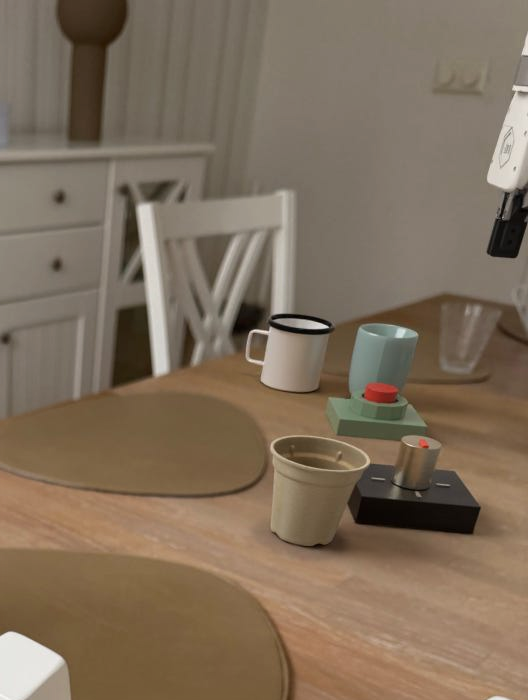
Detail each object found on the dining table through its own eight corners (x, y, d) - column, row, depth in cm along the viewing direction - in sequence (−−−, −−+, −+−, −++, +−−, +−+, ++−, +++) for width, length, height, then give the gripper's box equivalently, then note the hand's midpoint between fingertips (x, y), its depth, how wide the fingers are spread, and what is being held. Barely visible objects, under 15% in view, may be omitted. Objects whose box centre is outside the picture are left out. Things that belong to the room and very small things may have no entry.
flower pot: (338, 517, 102) (357, 438, 97) (360, 558, 94) (382, 474, 89) (248, 511, 102) (263, 431, 97) (262, 551, 94) (279, 466, 89)
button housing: (407, 420, 132) (414, 391, 129) (423, 443, 124) (431, 412, 122) (324, 412, 132) (331, 383, 130) (335, 435, 124) (342, 404, 122)
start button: (391, 397, 128) (394, 384, 127) (398, 407, 124) (401, 393, 123) (360, 394, 128) (363, 381, 127) (366, 404, 124) (369, 390, 124)
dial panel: (447, 496, 109) (455, 469, 107) (472, 534, 100) (481, 505, 99) (339, 486, 110) (345, 459, 108) (355, 523, 101) (362, 494, 99)
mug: (330, 384, 144) (344, 321, 139) (309, 399, 137) (323, 333, 132) (254, 367, 149) (264, 306, 144) (230, 381, 142) (240, 317, 137)
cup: (367, 413, 133) (385, 339, 128) (331, 396, 139) (347, 324, 134) (412, 409, 136) (431, 336, 130) (374, 392, 142) (391, 322, 136)
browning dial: (387, 473, 105) (399, 430, 103) (425, 477, 105) (437, 434, 102) (394, 487, 102) (406, 443, 99) (433, 491, 102) (446, 447, 99)
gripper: (496, 74, 113) (452, 243, 123) (540, 77, 100) (487, 265, 110) (562, 79, 113) (513, 248, 122) (615, 83, 100) (555, 271, 109)
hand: (501, 256), depth 116 cm, fingers closed
